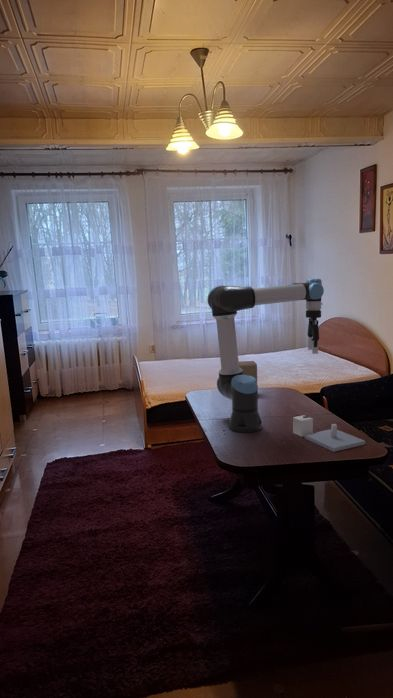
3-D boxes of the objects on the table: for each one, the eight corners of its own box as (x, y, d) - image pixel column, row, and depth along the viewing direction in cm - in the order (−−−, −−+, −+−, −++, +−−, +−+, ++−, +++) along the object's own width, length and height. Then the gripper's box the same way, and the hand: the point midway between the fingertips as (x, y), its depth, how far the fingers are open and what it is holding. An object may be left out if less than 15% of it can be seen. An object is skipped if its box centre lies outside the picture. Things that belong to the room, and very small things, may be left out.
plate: (333, 451, 177) (333, 434, 176) (304, 438, 193) (304, 422, 192) (365, 444, 184) (365, 427, 183) (334, 431, 200) (334, 416, 199)
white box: (301, 436, 195) (301, 419, 194) (293, 432, 201) (292, 416, 200) (312, 434, 198) (312, 417, 197) (304, 430, 203) (304, 413, 202)
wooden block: (255, 393, 271) (254, 360, 268) (257, 398, 261) (257, 363, 258) (238, 394, 271) (237, 361, 268) (240, 399, 261) (239, 364, 258)
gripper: (326, 311, 218) (325, 355, 221) (316, 308, 242) (316, 348, 245) (309, 311, 218) (309, 355, 221) (302, 308, 243) (301, 348, 246)
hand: (312, 351), depth 233 cm, fingers open, 13 cm apart
